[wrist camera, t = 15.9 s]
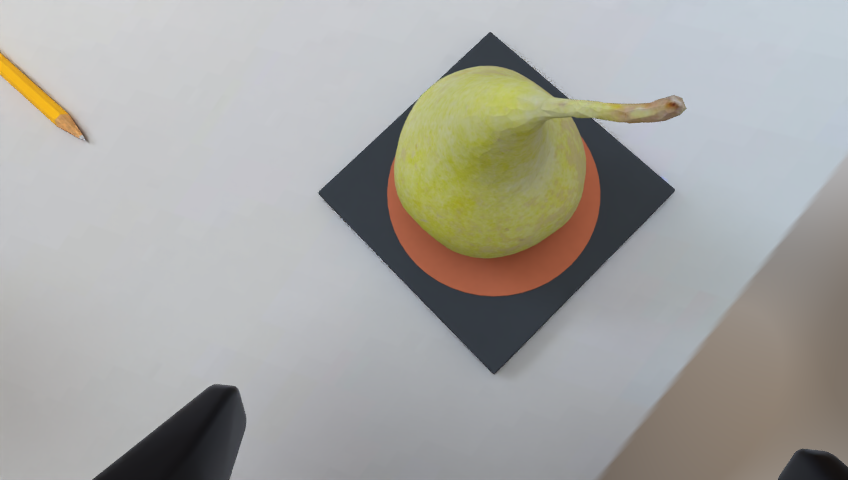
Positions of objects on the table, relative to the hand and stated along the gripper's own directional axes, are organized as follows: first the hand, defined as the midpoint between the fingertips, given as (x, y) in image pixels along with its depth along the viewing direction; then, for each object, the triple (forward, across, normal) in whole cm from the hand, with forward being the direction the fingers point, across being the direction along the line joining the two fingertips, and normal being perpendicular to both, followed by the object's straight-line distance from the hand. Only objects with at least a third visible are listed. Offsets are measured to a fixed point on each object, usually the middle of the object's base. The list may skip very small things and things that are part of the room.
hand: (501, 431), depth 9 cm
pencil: (+19, +25, +1) cm, 32 cm away
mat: (+15, 0, +4) cm, 16 cm away
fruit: (+15, 0, +4) cm, 15 cm away
